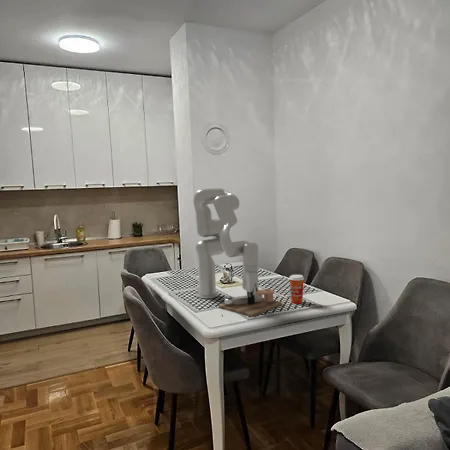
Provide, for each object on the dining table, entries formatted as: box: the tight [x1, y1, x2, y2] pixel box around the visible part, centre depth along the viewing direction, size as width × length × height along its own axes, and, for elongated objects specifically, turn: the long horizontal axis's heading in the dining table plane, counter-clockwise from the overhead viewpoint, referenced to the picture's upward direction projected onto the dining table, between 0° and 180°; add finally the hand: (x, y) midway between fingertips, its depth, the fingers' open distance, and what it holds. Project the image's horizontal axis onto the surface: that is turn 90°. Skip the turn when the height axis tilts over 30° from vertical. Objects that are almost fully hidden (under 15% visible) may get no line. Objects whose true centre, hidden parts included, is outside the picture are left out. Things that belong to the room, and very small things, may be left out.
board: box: [217, 297, 282, 318], centre depth 204 cm, size 22×24×1 cm
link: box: [224, 295, 264, 306], centre depth 205 cm, size 20×5×4 cm, turn 109°
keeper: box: [256, 288, 275, 302], centre depth 208 cm, size 10×6×6 cm, turn 107°
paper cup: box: [288, 274, 305, 305], centre depth 208 cm, size 8×8×14 cm
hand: (251, 304), depth 199 cm, fingers closed
